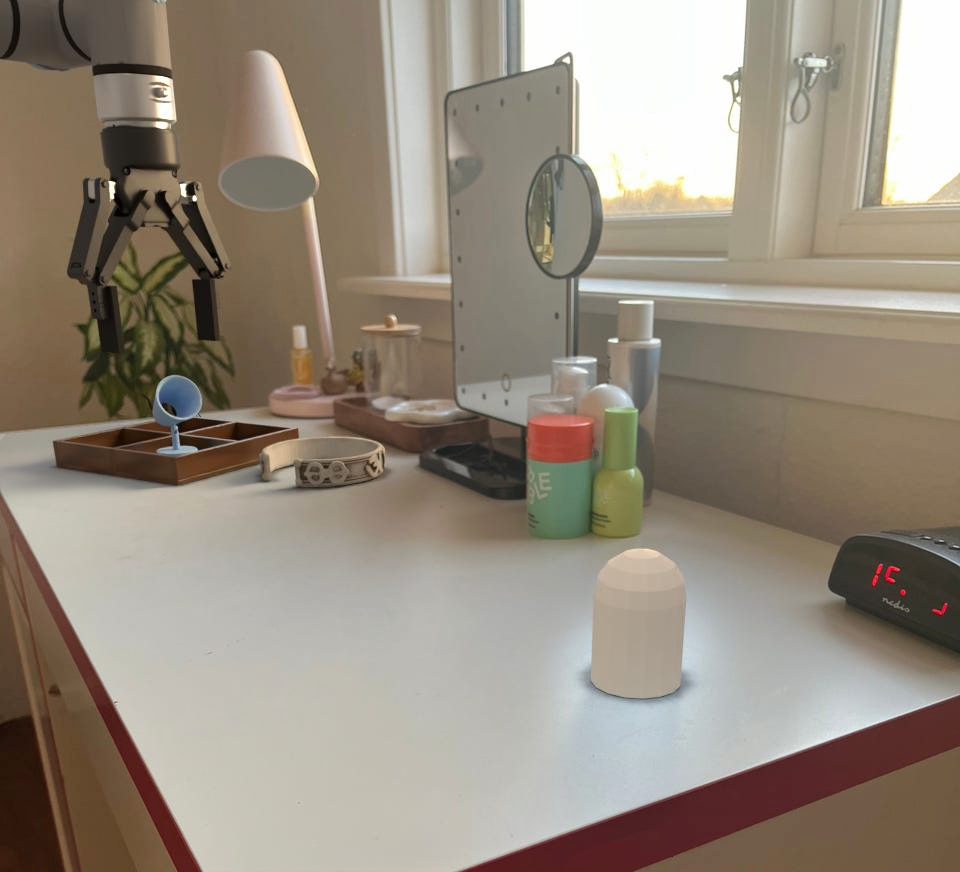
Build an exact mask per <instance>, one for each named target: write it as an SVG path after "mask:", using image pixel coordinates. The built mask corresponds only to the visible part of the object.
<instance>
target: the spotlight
mask: <svg viewBox="0 0 960 872" xmlns="http://www.w3.org/2000/svg"><path fill="white" fill-rule="evenodd" d="M161 403H168V404H167V405H169V406H171V405H172V406H173V407H174V408H175V410H176V412H177V417H175V416H174V415H172V414H171V413H170V412H169V413H167V412H166V411H165V410H164V409H163V407H162V406H161ZM202 405H203V396H202V392H201V391H200V389H199V387H198V386H197V385H196V383H194V381H193V380H191V379H189V378H188V377H185V376H183V375H178V374H172V375H168V376H166V377H164V378H162V380H160V382H159V383H158V384H157V387H156V390H155V395H154V400H153V404H152V406H153V411H152V410H151V412H152V417H153V419H154V421H156V422H157V423H158V424H160V425H162V426H167V427H168V426H171V435H172V444H173V446H171V447H165V448H161V449H158V450H157V451H156V454H163V455H171V456H178V455H182V454H186V453H191V452H195V451H198V450H197V448H196V447H192V446H180V443H179V434H178V427H177V426H176V424H177V423H180V422H183V421H185V420H188V419H190V418H192V417H196V415H197V416H198V413H200V411H201V409H202ZM174 432H175V433H174Z"/></svg>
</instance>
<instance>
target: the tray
mask: <svg viewBox="0 0 960 872" xmlns="http://www.w3.org/2000/svg"><path fill="white" fill-rule="evenodd" d="M175 417H177V416H175ZM176 426H177V427H178V434H179V443H180V446H192V447H196V448H197V450H198V451H195V452H191V453H186V454H182V455H178V456H171V455H163V454H156V451H157V450H158V449H161V448H165V447H171V446H173V444H172V435H171V426H168V427H167V426H162V425H160V424H158V423H157V422H156V421H155V420H150V421H145V422H139V423H135V424H130V425H126V426H125V425H124V426H120V427H115V428H110V429H106V430H100V431H95V432H91V433H86V434H80V435H74V436H70V437H64V438H60V439H55V440H52V447H53V453H54V459H55V465H56V467H57V468H63V469H70V470H77V471H82V472H88V473H95V474H103V475H109V476H115V477H121V478H127V479H128V478H129V479H133V480H134V479H135V480H142V481H148V482H154V483H162V484H166V485H174V486H183V485H186V484H189V483H194V482H197V481H200V480H203V479H208V478H211V477H215V476H218V475H223V474H225V473H230V472H235V471H237V470H240V469H245V468H248V467H251V466H255V465H260V457H259V454H261V452H262V450H263V449H264V448H266V447H267V446H270V445H272V444H275V443H278V442H282V441H287V440H292V439H300V435H299V433H300V431H299V427H293V426H285V425H277V424H276V425H275V424H267V423H257V422H256V423H255V422H249V421H237V420H230V419H221V418H220V419H219V418H210V417H202V416H201V417H199V416H197V417H196V416H194V417H192V418H190V419H188V420H185V421H183V422H180V423H177V424H176ZM174 433H175V432H174Z"/></svg>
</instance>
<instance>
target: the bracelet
mask: <svg viewBox="0 0 960 872" xmlns="http://www.w3.org/2000/svg"><path fill="white" fill-rule="evenodd" d="M259 457H260V463H259V467H260V474H261V478H262V480H263V481H266V482H269V481H272V479H273V478H272V472H273V471H277V470H278V469H279V470H280V469H283V468H286V467H290V466H293V467H294V473H295V486H297V487H299V488H300V487H312V488H313V487H335V486H346V485H351V484H357V483H363V482H367V481H370V480H374V479H375V478H377V477H379V476H380V475H382V474H383V472H384V470H386V469H387V468H386V466H387V465H386V449H385V447H384V446H383V445H382V444H381V443H380V442H379V441H375V440H372V439H369V438H368V439H367V438H363V437H355V436H329V435H327V436H314V437H313V436H312V437H301V438H300V437H299V439H292V440H287V441H282V442H278V443H275V444H272V445H270V446H267V447H266V448H264V449H263V450H262V452H261V454H259Z"/></svg>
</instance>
